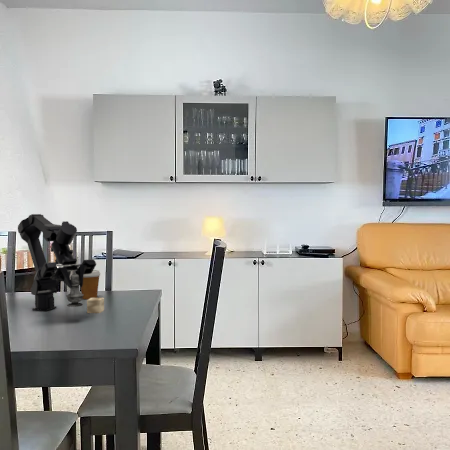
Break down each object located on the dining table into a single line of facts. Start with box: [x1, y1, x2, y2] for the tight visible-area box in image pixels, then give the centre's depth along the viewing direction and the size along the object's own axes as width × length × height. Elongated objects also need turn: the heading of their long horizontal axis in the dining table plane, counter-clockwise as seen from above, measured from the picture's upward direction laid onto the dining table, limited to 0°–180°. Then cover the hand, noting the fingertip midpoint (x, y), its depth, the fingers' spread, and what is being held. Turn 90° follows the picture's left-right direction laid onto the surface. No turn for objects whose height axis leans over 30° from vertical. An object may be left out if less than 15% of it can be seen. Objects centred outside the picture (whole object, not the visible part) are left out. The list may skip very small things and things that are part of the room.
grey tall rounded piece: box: [65, 271, 84, 308], centre depth 162 cm, size 6×6×12 cm
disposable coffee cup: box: [80, 269, 101, 300], centre depth 205 cm, size 10×10×12 cm
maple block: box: [86, 297, 105, 314], centre depth 178 cm, size 5×5×5 cm
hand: (76, 287), depth 161 cm, fingers closed on grey tall rounded piece, 4 cm apart
